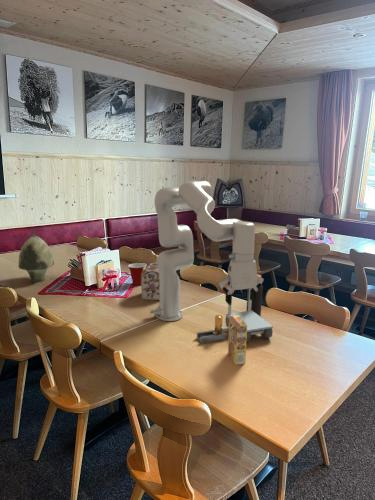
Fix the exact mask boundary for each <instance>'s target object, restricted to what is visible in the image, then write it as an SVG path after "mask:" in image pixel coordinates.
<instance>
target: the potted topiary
mask: <svg viewBox="0 0 375 500" xmlns="http://www.w3.org/2000/svg"><path fill="white" fill-rule="evenodd" d="M31 233H32V236H29V238H27V239H26V240H25V242H24V243H23V244H22V246H21V248H20V252H19V256H18V269H20V270H22V271H26V272H27V274H28V275H29V279H30V282H32V283H39V282H43V281H45V280H46V273H47V271H48V269H49V268H51V267H53V266H55V262H54V257H53V253H52V251H51V248H50V247H49V245H48V243H47V242H46V241H45V240H43V238H41V237H39V236H38V235H36V234H35V231H31Z"/></svg>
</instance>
